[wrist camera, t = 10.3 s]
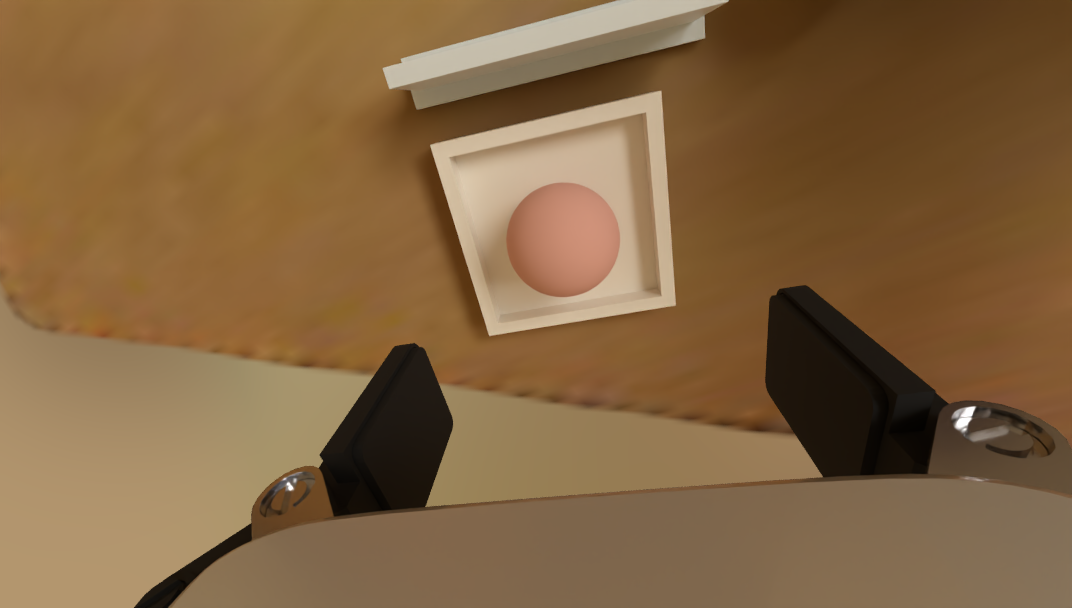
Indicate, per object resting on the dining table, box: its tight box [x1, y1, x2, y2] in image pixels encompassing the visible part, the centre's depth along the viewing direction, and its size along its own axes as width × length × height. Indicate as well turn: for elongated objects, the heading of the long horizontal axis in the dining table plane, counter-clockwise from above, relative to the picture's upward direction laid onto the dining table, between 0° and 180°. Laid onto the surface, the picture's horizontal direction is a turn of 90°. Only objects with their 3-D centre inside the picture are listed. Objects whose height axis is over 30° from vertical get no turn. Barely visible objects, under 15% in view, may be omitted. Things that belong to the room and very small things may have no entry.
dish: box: [430, 91, 676, 336], centre depth 24 cm, size 12×12×2 cm
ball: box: [506, 183, 620, 297], centre depth 21 cm, size 6×6×6 cm
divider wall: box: [383, 0, 729, 110], centre depth 18 cm, size 15×2×5 cm, turn 102°
